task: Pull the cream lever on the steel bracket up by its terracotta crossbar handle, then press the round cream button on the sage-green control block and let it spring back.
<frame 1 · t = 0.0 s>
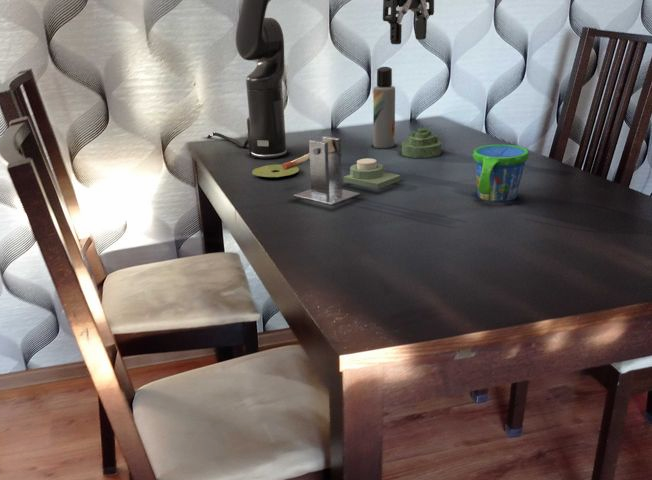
hand: (408, 41, 145), 29 cm above the table, tool pointing down, fingers open, 8 cm apart
decorative artifact: (421, 153, 181), on the table
button: (366, 164, 157), point 4 cm above the table, slide at 0.1 cm
lever: (309, 156, 149), point 9 cm above the table, hinge at -25.0°
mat: (276, 179, 167), on the table
bracket: (327, 200, 150), on the table
control block: (372, 185, 158), on the table
lotion bottle: (383, 146, 190), on the table
snack cup: (496, 201, 144), on the table
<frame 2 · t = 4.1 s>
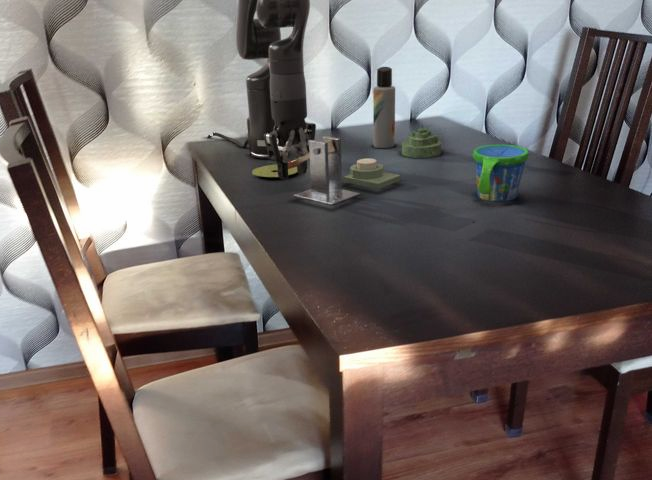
hand: (292, 175, 154), 4 cm above the table, tool pointing down, fingers closed on lever, 5 cm apart
lever: (309, 156, 149), point 9 cm above the table, hinge at -25.0°, touching gripper
everything else where it was.
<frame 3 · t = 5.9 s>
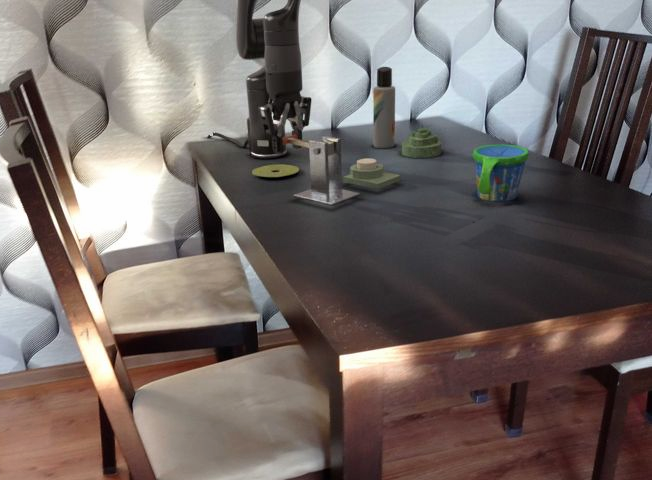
hand: (287, 150, 152), 9 cm above the table, tool pointing down, fingers closed on lever, 5 cm apart
lever: (307, 144, 148), point 11 cm above the table, hinge at 2.4°, touching gripper
everything else where it was.
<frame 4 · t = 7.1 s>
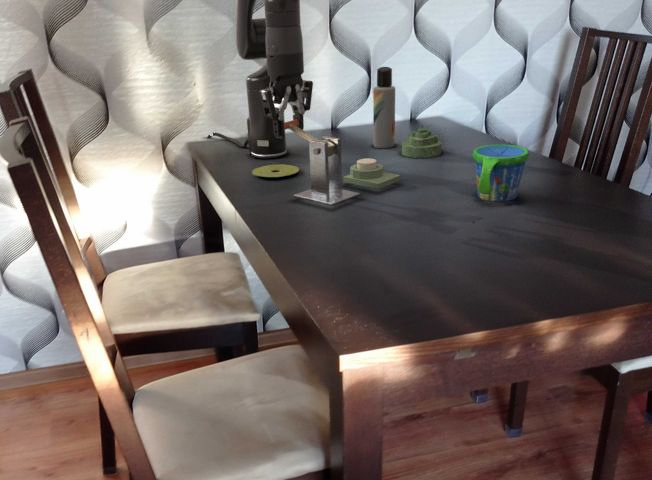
hand: (289, 135, 150), 13 cm above the table, tool pointing down, fingers closed on lever, 5 cm apart
lever: (307, 137, 147), point 13 cm above the table, hinge at 19.5°, touching gripper
everything else where it was.
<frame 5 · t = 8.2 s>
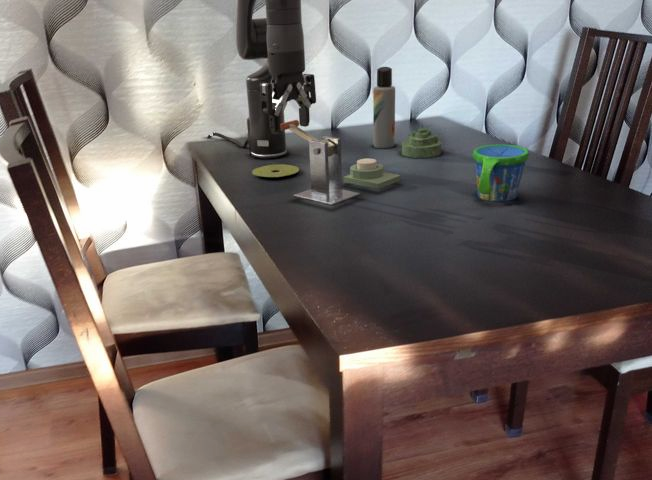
hand: (290, 129, 150), 14 cm above the table, tool pointing down, fingers open, 8 cm apart
lever: (307, 137, 147), point 13 cm above the table, hinge at 19.1°
everything else where it was.
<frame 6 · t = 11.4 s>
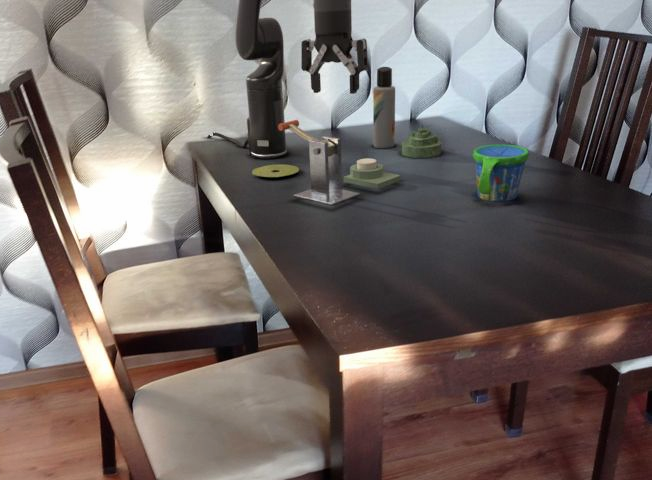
hand: (335, 92, 148), 20 cm above the table, tool pointing down, fingers open, 8 cm apart
nothing on the table moved.
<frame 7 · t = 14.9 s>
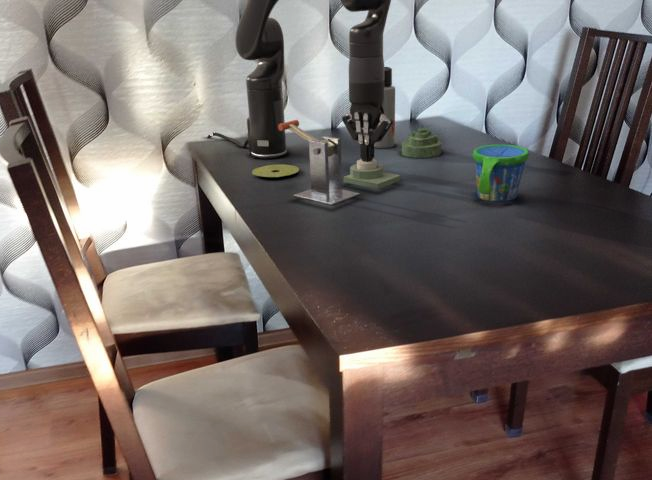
hand: (367, 160, 156), 5 cm above the table, tool pointing down, fingers closed
button: (366, 164, 157), point 4 cm above the table, slide at 0.1 cm, touching gripper
everything else where it was.
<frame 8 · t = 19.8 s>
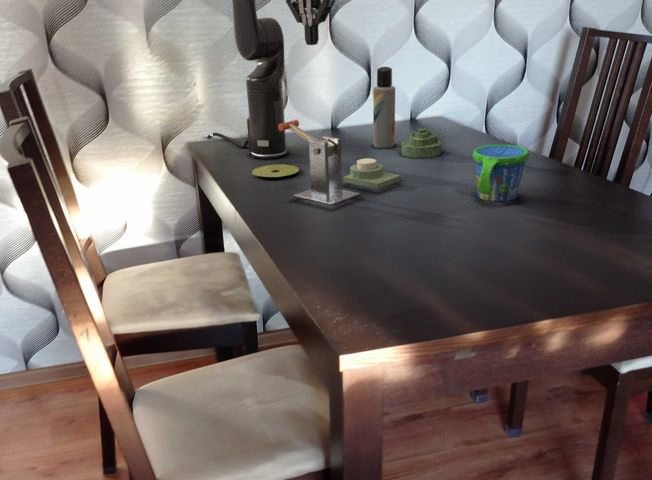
hand: (311, 44, 153), 29 cm above the table, tool pointing down, fingers closed
button: (366, 164, 157), point 4 cm above the table, slide at 0.1 cm
everything else where it was.
at the end: lever at +19° (first picture: -25°); button pushed in 0.8 cm at the most during the clip, back to where it started at the end; button slide at 0.1 cm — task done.
